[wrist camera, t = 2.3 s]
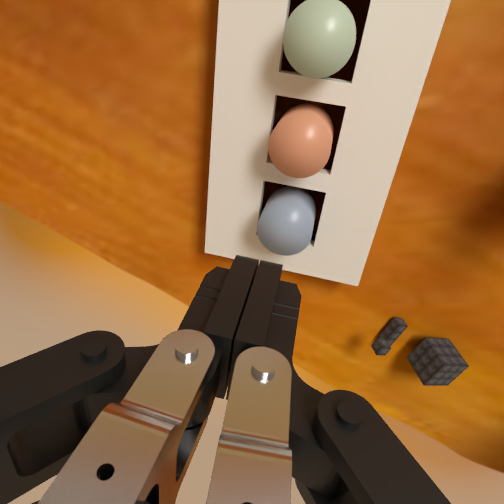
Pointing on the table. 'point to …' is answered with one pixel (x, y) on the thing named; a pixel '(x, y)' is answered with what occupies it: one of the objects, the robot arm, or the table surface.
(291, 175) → the terracotta button
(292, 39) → the pale green rounded piece
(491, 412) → the table surface
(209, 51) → the table surface
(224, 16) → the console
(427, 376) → the building blocks
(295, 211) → the slate button
